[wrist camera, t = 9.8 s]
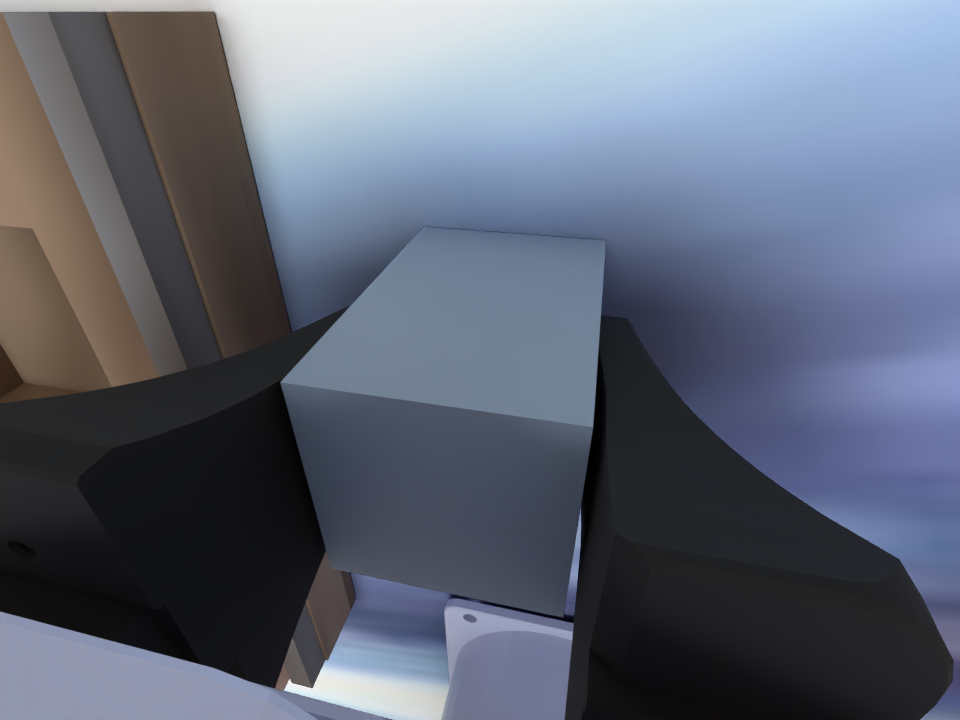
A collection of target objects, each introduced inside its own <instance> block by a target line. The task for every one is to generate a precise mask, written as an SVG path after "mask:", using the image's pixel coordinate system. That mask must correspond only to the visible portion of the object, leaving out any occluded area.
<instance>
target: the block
mask: <svg viewBox="0 0 960 720" xmlns="http://www.w3.org/2000/svg"><path fill="white" fill-rule="evenodd" d="M605 248H606V241H605V240H592V239H579V238H566V237H553V236H540V235H527V234H514V233H501V232H488V231H475V230H462V229H449V228H435V227H423V228H422V229H421V230H420V231H419V232H418V233H417V234H416V235H415V236H414V238H413V239H412V240H411V241H410V242H409V243H408V244H407V245H406V246H405V247H404V248H403V250H402V251H401V252H400V253H399V254H398V255H397V256H396V257H395V258H394V259H393V260H392V261H391V263H390V264H389V265H388V266H387V267H386V268H385V269H384V270H383V271H382V272H381V273H380V275H379V276H378V277H377V278H376V279H375V280H374V281H373V282H372V283H371V284H370V285H369V286H368V288H367V289H366V290H365V291H364V292H363V293H362V294H361V295H360V296H359V297H358V298H357V300H356V301H355V302H354V303H353V304H352V305H351V306H350V307H349V308H348V309H347V310H346V311H345V313H344V314H343V315H342V316H341V317H340V318H339V319H338V320H337V321H336V322H335V323H334V325H333V326H332V327H331V328H330V329H329V330H328V331H327V332H326V333H325V334H324V335H323V336H322V338H321V339H320V340H319V341H318V342H317V343H316V344H315V345H314V346H313V347H312V348H311V350H310V351H309V352H308V353H307V354H306V355H305V356H304V357H303V358H302V359H301V360H300V361H299V363H298V364H297V365H296V366H295V367H294V368H293V369H292V370H291V371H290V372H289V373H288V375H287V376H286V377H285V378H284V379H283V380H282V381H281V382H280V383H281V387H282V390H283V394H284V398H285V401H286V405H287V409H288V412H289V416H290V420H291V423H292V427H293V431H294V434H295V438H296V442H297V445H298V449H299V453H300V456H301V460H302V464H303V467H304V471H305V475H306V478H307V482H308V486H309V489H310V493H311V496H312V500H313V504H314V507H315V511H316V515H317V518H318V522H319V526H320V529H321V533H322V537H323V540H324V544H325V548H326V551H327V555H328V559H329V562H330V566H331V568H332V569H337V570H342V571H346V572H351V573H356V574H360V575H365V576H370V577H375V578H379V579H384V580H389V581H393V582H398V583H403V584H407V585H412V586H417V587H422V588H426V589H431V590H436V591H440V592H445V593H450V594H454V595H459V596H464V597H469V598H473V599H478V600H483V601H487V602H492V603H497V604H501V605H506V606H511V607H516V608H520V609H525V610H530V611H534V612H539V613H544V614H548V615H553V616H558V617H563V616H564V610H565V603H566V597H567V591H568V584H569V578H570V571H571V565H572V559H573V552H574V546H575V540H576V533H577V527H578V521H579V514H580V508H581V501H582V495H583V489H584V482H585V476H586V470H587V463H588V457H589V450H590V444H591V438H592V431H593V422H594V408H595V393H596V379H597V364H598V350H599V335H600V321H601V306H602V292H603V277H604V263H605Z"/></svg>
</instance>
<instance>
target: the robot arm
mask: <svg viewBox="0 0 960 720" xmlns="http://www.w3.org/2000/svg"><path fill="white" fill-rule="evenodd" d="M350 306H351V305H350ZM350 306H348V307H346V308H344V309H341V310H339V311H337V312H335V313H333V314H331V315H329V316H327V317H325V318H323V319H321V320H318V321H316V322H314V323H312V324H310V325H308V326H306V327H303V328H301V329H299V330H296V331H294V332H292V333H290V334H287V335H285V336H283V337H280V338H278V339H276V340H273V341H271V342H269V343H266V344H264V345H261V346H259V347H256V348H254V349H251V350H248V351H245V352H243V353H240V354H237V355H234V356H231V357H228V358H225V359H222V360H219V361H216V362H213V363H209V364H206V365H202V366H199V367H195V368H191V369H187V370H183V371H180V372H176V373H172V374H168V375H165V376H161V377H157V378H153V379H149V380H144V381H139V382H134V383H130V384H125V385H120V386H115V387H109V388H104V389H98V390H93V391H87V392H81V393H75V394H68V395H61V396H53V397H45V398H38V399H30V400H23V401H15V402H7V403H0V720H392V719H388V718H384V717H380V716H377V715H373V714H369V713H365V712H362V711H358V710H354V709H350V708H347V707H343V706H339V705H335V704H331V703H328V702H324V701H320V700H316V699H313V698H309V697H305V696H301V695H298V694H294V693H290V692H286V691H283V690H279V689H275V687H276V684H277V681H278V678H279V675H280V672H281V670H282V667H283V664H284V661H285V658H286V655H287V652H288V649H289V646H290V643H291V640H292V637H293V635H294V632H295V629H296V627H297V624H298V621H299V619H300V616H301V613H302V611H303V608H304V605H305V603H306V600H307V597H308V595H309V592H310V589H311V587H312V584H313V582H314V579H315V577H316V574H317V572H318V569H319V567H320V564H321V562H322V559H323V557H324V554H325V552H326V548H325V544H324V540H323V537H322V533H321V529H320V526H319V522H318V518H317V515H316V511H315V507H314V504H313V500H312V496H311V493H310V489H309V486H308V482H307V478H306V475H305V471H304V467H303V464H302V460H301V456H300V453H299V449H298V445H297V442H296V438H295V434H294V431H293V427H292V423H291V420H290V416H289V412H288V409H287V405H286V401H285V398H284V394H283V390H282V387H281V383H280V382H281V381H282V380H283V379H284V378H285V377H286V376H287V375H288V373H289V372H290V371H291V370H292V369H293V368H294V367H295V366H296V365H297V364H298V363H299V361H300V360H301V359H302V358H303V357H304V356H305V355H306V354H307V353H308V352H309V351H310V350H311V348H312V347H313V346H314V345H315V344H316V343H317V342H318V341H319V340H320V339H321V338H322V336H323V335H324V334H325V333H326V332H327V331H328V330H329V329H330V328H331V327H332V326H333V325H334V323H335V322H336V321H337V320H338V319H339V318H340V317H341V316H342V315H343V314H344V313H345V311H346V310H347V309H348V308H349V307H350ZM444 616H445V629H446V642H447V655H448V668H449V681H450V688H449V692H448V696H447V699H446V703H445V707H444V711H443V715H442V719H441V720H920V719H921V718H922V717H923V716H924V715H925V714H927V713H928V712H929V711H930V710H931V709H932V708H933V707H934V706H935V705H936V704H937V702H938V701H939V700H940V699H941V697H942V696H943V694H944V693H945V691H946V690H947V688H948V687H949V686H950V684H951V683H952V680H953V662H954V661H953V659H952V657H951V655H950V653H949V651H948V649H947V647H946V645H945V643H944V641H943V639H942V637H941V635H940V633H939V631H938V629H937V627H936V625H935V622H934V620H933V618H932V616H931V614H930V612H929V610H928V608H927V606H926V604H925V602H924V600H923V598H922V596H921V595H920V593H919V591H918V590H917V588H916V586H915V585H914V583H913V581H912V580H911V578H910V576H909V575H908V573H907V571H906V570H905V568H904V566H903V565H902V563H901V561H900V560H899V559H898V558H896V557H894V556H893V555H891V554H889V553H887V552H886V551H884V550H882V549H881V548H879V547H877V546H875V545H874V544H872V543H870V542H869V541H867V540H865V539H863V538H862V537H860V536H858V535H857V534H855V533H853V532H851V531H850V530H848V529H846V528H845V527H843V526H841V525H839V524H838V523H836V522H834V521H833V520H831V519H829V518H827V517H826V516H824V515H823V514H821V513H819V512H818V511H816V510H815V509H813V508H812V507H810V506H809V505H807V504H806V503H804V502H803V501H801V500H800V499H798V498H797V497H796V496H794V495H793V494H791V493H790V492H788V491H787V490H785V489H784V488H782V487H781V486H779V485H778V484H777V483H775V482H774V481H773V480H771V479H770V478H768V477H767V476H766V475H764V474H763V473H762V472H760V471H759V470H758V469H756V468H755V467H754V466H753V465H751V464H750V463H749V462H748V461H746V460H745V459H744V458H743V457H742V456H740V455H739V454H738V453H737V452H735V451H734V450H733V449H732V448H730V447H729V446H728V445H727V444H726V443H725V442H724V441H722V440H721V439H720V438H719V437H718V436H717V435H716V434H715V433H714V432H713V431H712V430H711V429H710V428H709V427H708V426H707V425H705V424H704V423H703V422H702V421H701V420H700V419H699V418H698V417H697V416H696V415H695V414H694V413H693V412H692V411H691V409H690V408H689V407H688V406H687V405H686V404H685V403H684V402H683V400H682V399H681V398H680V397H679V396H678V394H677V393H676V392H675V391H674V390H673V388H672V387H671V386H670V384H669V383H668V382H667V380H666V379H665V378H664V376H663V375H662V373H661V372H660V371H659V369H658V368H657V366H656V365H655V363H654V362H653V361H652V359H651V358H650V356H649V354H648V353H647V351H646V350H645V348H644V346H643V345H642V343H641V341H640V340H639V338H638V336H637V334H636V332H635V331H634V329H633V327H632V325H631V323H630V322H629V321H628V319H627V318H620V317H610V316H601V321H600V335H599V350H598V364H597V379H596V393H595V408H594V422H593V431H592V438H591V444H590V450H589V457H588V463H587V470H586V476H585V482H584V489H583V495H582V501H581V549H580V560H579V571H578V582H577V593H576V604H575V615H574V623H571V622H566V621H561V620H557V619H552V618H547V617H543V616H538V615H533V614H529V613H524V612H519V611H515V610H510V609H505V608H501V607H496V606H491V605H487V604H482V603H477V602H473V601H468V600H463V599H458V598H453V599H450V600H448V601H447V603H446V607H445V610H444Z"/></svg>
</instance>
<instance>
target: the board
mask: <svg viewBox="0 0 960 720" xmlns="http://www.w3.org/2000/svg"><path fill="white" fill-rule="evenodd" d="M290 333H291V329H290V325H289V321H288V317H287V313H286V308H285V304H284V300H283V296H282V292H281V288H280V284H279V280H278V275H277V271H276V267H275V263H274V259H273V255H272V251H271V247H270V242H269V238H268V234H267V230H266V226H265V222H264V218H263V214H262V209H261V205H260V201H259V197H258V193H257V189H256V185H255V180H254V176H253V172H252V168H251V164H250V160H249V156H248V152H247V147H246V143H245V139H244V135H243V131H242V127H241V123H240V119H239V114H238V110H237V106H236V102H235V98H234V94H233V90H232V86H231V81H230V77H229V73H228V69H227V65H226V61H225V57H224V53H223V48H222V44H221V40H220V36H219V32H218V28H217V24H216V20H215V15H214V12H0V403H7V402H15V401H23V400H30V399H38V398H45V397H53V396H61V395H68V394H75V393H81V392H87V391H93V390H98V389H104V388H109V387H115V386H120V385H125V384H130V383H134V382H139V381H144V380H149V379H153V378H157V377H161V376H165V375H168V374H172V373H176V372H180V371H183V370H187V369H191V368H195V367H199V366H202V365H206V364H209V363H213V362H216V361H219V360H222V359H225V358H228V357H231V356H234V355H237V354H240V353H243V352H245V351H248V350H251V349H254V348H256V347H259V346H261V345H264V344H266V343H269V342H271V341H273V340H276V339H278V338H280V337H283V336H285V335H287V334H290ZM355 599H356V597H355V593H354V589H353V585H352V581H351V577H350V573H349V572H346V571H342V570H337V569H332V568H331V566H330V562H329V559H328V555H327V551H326V552H325V554H324V557H323V559H322V562H321V564H320V567H319V569H318V572H317V574H316V577H315V579H314V582H313V584H312V587H311V589H310V592H309V595H308V597H307V600H306V603H305V605H304V608H303V611H302V613H301V616H300V619H299V621H298V624H297V627H296V629H295V632H294V635H293V637H292V640H291V643H290V646H289V649H288V652H287V655H286V658H285V661H284V666H285V668H286V670H287V673H288V675H289V677H290V679H291V682H292V683H294V684H298V685H302V686H306V687H310V688H313V686H314V683H315V681H316V679H317V677H318V675H319V673H320V670H321V668H322V666H323V664H324V662H325V660H328V659H329V657H330V654H331V652H332V650H333V648H334V646H335V643H336V641H337V639H338V637H339V635H340V632H341V630H342V628H343V626H344V624H345V621H346V619H347V617H348V615H349V612H350V610H351V608H352V606H353V604H354V601H355Z"/></svg>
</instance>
